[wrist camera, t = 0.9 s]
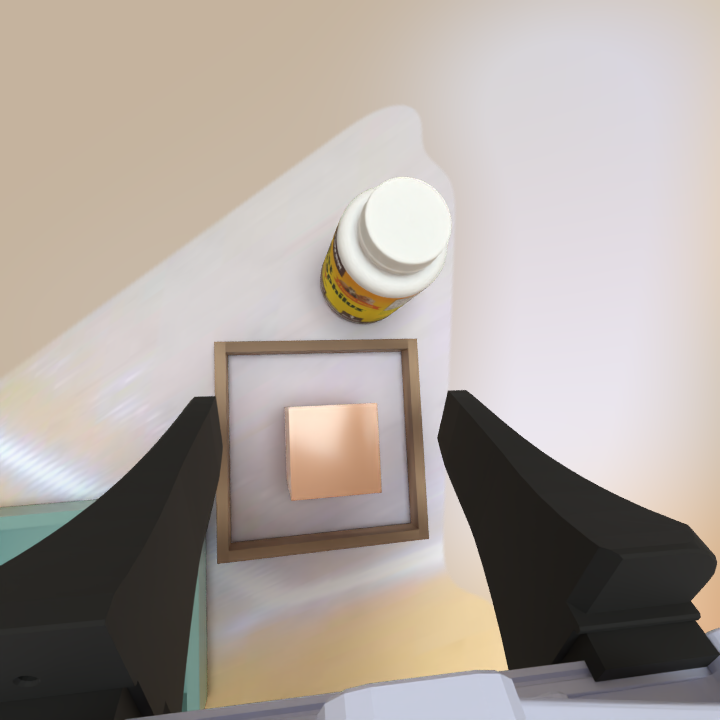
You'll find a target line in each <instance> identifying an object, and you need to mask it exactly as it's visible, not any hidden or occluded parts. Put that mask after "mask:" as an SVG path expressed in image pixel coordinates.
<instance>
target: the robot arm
mask: <svg viewBox="0 0 720 720" xmlns="http://www.w3.org/2000/svg"><path fill="white" fill-rule="evenodd" d="M438 442H439V447H440V451H441V454H442V458H443V462H444V465H445V468H446V470H447V473H448V475H449V478H450V480H451V483H452V485H453V487H454V490H455V492H456V495H457V497H458V499H459V502H460V504H461V506H462V509H463V511H464V514H465V516H466V518H467V521H468V523H469V525H470V528H471V531H472V533H473V536H474V539H475V542H476V545H477V548H478V552H479V555H480V559H481V562H482V565H483V568H484V572H485V576H486V579H487V583H488V586H489V590H490V594H491V598H492V601H493V605H494V609H495V613H496V618H497V622H498V626H499V630H500V634H501V638H502V642H503V647H504V651H505V656H506V660H507V665H508V669H509V670H507V671H499V672H497V671H495V670H473V671H465V672H457V673H449V674H441V675H433V676H425V677H417V678H409V679H401V680H393V681H386V682H378V683H370V684H365V685H361V686H357V687H353V688H348V689H345V690H343V691H341V692H335V693H327V694H319V695H312V696H304V697H296V698H288V699H280V700H273V701H265V702H257V703H249V704H241V705H234V706H226V707H218V708H210V709H202V710H195V711H187V712H182V703H183V693H184V683H185V673H186V664H187V655H188V646H189V638H190V629H191V621H192V614H193V606H194V598H195V591H196V584H197V577H198V570H199V562H200V557H201V552H202V547H203V543H204V539H205V535H206V531H207V527H208V523H209V519H210V515H211V511H212V506H213V502H214V498H215V494H216V490H217V486H218V482H219V477H220V469H221V461H222V452H223V443H222V436H221V429H220V422H219V414H218V407H217V400H216V396H209V397H194V398H193V399H192V400H191V401H190V402H189V404H188V405H187V406H186V407H185V409H184V410H183V411H182V413H181V414H180V415H179V416H178V418H177V419H176V420H175V421H174V423H173V424H172V425H171V426H170V428H169V429H168V430H167V431H166V432H165V433H164V435H163V436H162V437H161V438H160V439H159V440H158V442H157V443H156V444H155V445H154V446H153V447H152V448H151V449H150V450H149V451H148V453H147V454H146V455H145V456H144V457H143V458H142V459H141V460H140V461H139V462H138V463H137V464H136V465H135V466H134V467H133V468H132V469H131V470H130V471H129V472H128V473H127V474H126V475H125V476H124V477H123V478H122V479H121V480H119V481H118V482H117V483H116V484H115V485H114V486H113V487H112V488H110V489H109V490H108V491H107V492H106V493H105V494H104V495H102V496H101V497H100V498H99V499H97V500H96V501H95V502H94V503H92V504H91V505H90V506H89V507H87V508H86V509H85V510H83V511H82V512H81V513H79V514H78V515H77V516H76V517H74V518H73V519H72V520H70V521H69V522H67V523H66V524H65V525H63V526H62V527H60V528H59V529H57V530H56V531H55V532H53V533H52V534H50V535H49V536H47V537H46V538H44V539H43V540H41V541H40V542H38V543H37V544H35V545H33V546H32V547H30V548H29V549H27V550H26V551H24V552H22V553H21V554H19V555H18V556H16V557H14V558H12V559H11V560H9V561H7V562H6V563H4V564H2V565H0V720H720V628H718V629H714V630H711V631H709V632H707V633H706V634H705V633H704V631H703V630H702V629H701V628H700V626H699V625H698V623H697V622H696V621H695V620H699V619H700V617H701V616H700V613H699V611H698V610H697V609H696V607H695V606H694V605H693V603H692V602H691V600H692V599H693V598H694V597H695V596H696V595H697V593H698V592H699V591H700V590H701V589H702V588H703V587H704V586H705V585H706V583H707V582H708V581H709V580H710V579H711V577H712V576H713V574H714V573H715V569H716V565H717V560H716V557H715V555H714V554H713V553H712V552H711V551H710V550H709V548H708V547H707V546H706V545H705V544H704V543H703V541H702V540H701V539H700V538H699V537H698V536H697V535H696V533H695V532H694V531H693V530H692V529H691V528H690V527H689V526H688V525H686V524H684V523H681V522H679V521H676V520H674V519H671V518H669V517H666V516H664V515H661V514H659V513H656V512H653V511H651V510H648V509H646V508H644V507H641V506H639V505H637V504H635V503H633V502H630V501H628V500H626V499H624V498H622V497H619V496H618V495H616V494H614V493H611V492H609V491H608V490H606V489H604V488H602V487H599V486H598V485H596V484H594V483H592V482H591V481H589V480H587V479H585V478H583V477H581V476H580V475H578V474H576V473H575V472H573V471H571V470H570V469H568V468H566V467H565V466H563V465H562V464H560V463H559V462H557V461H555V460H554V459H552V458H551V457H549V456H548V455H546V454H545V453H544V452H542V451H540V450H539V449H538V448H537V447H535V446H534V445H532V444H531V443H530V442H528V441H527V440H526V439H524V438H523V437H522V436H521V435H519V434H518V433H517V432H515V431H514V430H513V429H512V428H510V427H509V426H508V425H507V424H506V423H504V422H503V421H502V420H501V419H500V418H498V417H497V416H496V415H495V414H494V413H492V412H491V411H490V410H489V409H488V408H487V407H486V406H484V405H483V404H482V403H481V402H480V401H479V400H478V399H476V398H475V397H474V396H473V395H472V394H470V393H469V392H468V391H466V390H461V391H460V390H456V391H448V393H447V398H446V402H445V406H444V411H443V415H442V420H441V424H440V429H439V433H438Z"/></svg>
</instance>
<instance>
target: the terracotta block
mask: <svg viewBox="0 0 720 720" xmlns="http://www.w3.org/2000/svg"><path fill="white" fill-rule="evenodd" d="M285 441H286V475H287V484H288V488H289V492H290V497H291V501H295V500H306V499H317V498H327V497H338V496H349V495H360V494H371V493H382V490H381V471H380V451H379V431H378V412H377V403H364V404H341V405H320V406H299V407H285Z"/></svg>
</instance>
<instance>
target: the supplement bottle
mask: <svg viewBox="0 0 720 720" xmlns="http://www.w3.org/2000/svg"><path fill="white" fill-rule="evenodd" d="M451 227H452V224H451V216H450V212H449V209H448V206H447V204H446V203H445V201H444V199H443V198H442V196H441V195H440V194H439V193H438V192H437V191H436V190H435V189H434V188H433V187H432V186H430V185H429V184H427V183H425V182H423V181H421V180H418V179H415V178H410V177H397V178H393V179H390V180H387V181H385V182H384V183H382V184H380V185H379V186H378V187H375V188H372V189H369V190H367V191H365V192H363V193H361V194H360V195H358V196H357V197H356V198H354V199H353V200H352V201H351V203H350V204H349V205H348V206H347V208H346V209H345V211H344V213H343V215H342V217H341V219H340V221H339V224H338V226H337V229H336V231H335V234H334V237H333V240H332V242H331V245H330V247H329V250H328V253H327V255H326V258H325V260H324V263H323V266H322V270H321V277H320V282H321V289H322V292H323V295H324V297H325V300H326V301H327V303H328V304H329V306H330V307H331V308H332V309H333V310H334V311H335V312H336V313H337V314H338V315H340V316H341V317H343V318H345V319H347V320H349V321H352V322H356V323H373V322H377V321H380V320H382V319H384V318H386V317H387V316H389V315H390V314H392V313H393V312H394V311H396V310H397V309H398V308H400V307H401V306H403V305H404V304H405V303H407V302H408V301H409V300H411V299H412V298H413V297H415V296H416V295H417V294H419V293H420V292H422V291H423V290H424V289H426V288H427V287H428V286H429V285H430V284H431V283H432V282H433V281H434V280H435V279H436V278H437V277H438V275H439V273H440V272H441V270H442V268H443V266H444V263H445V260H446V256H447V246H448V241H449V238H450V235H451Z"/></svg>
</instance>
